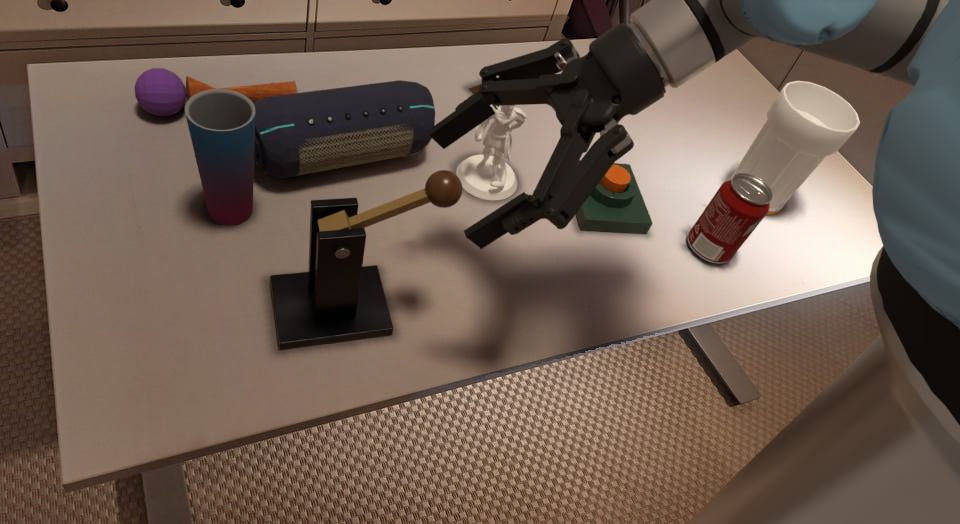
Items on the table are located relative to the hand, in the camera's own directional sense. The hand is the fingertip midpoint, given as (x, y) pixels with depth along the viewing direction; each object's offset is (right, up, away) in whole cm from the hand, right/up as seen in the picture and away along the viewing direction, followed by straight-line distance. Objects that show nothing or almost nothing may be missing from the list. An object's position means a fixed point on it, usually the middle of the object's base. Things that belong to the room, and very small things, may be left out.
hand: (452, 187), depth 63 cm
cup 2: (+46, +3, +40) cm, 61 cm away
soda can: (+35, -5, +30) cm, 46 cm away
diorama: (+4, +20, +42) cm, 47 cm away
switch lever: (-5, -3, +1) cm, 6 cm away
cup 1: (-27, -1, +15) cm, 31 cm away
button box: (+20, +2, +31) cm, 37 cm away
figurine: (+4, +4, +29) cm, 30 cm away
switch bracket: (-14, -12, +9) cm, 21 cm away
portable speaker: (-16, +7, +25) cm, 31 cm away
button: (+21, +4, +28) cm, 36 cm away
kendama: (-33, +14, +26) cm, 44 cm away
